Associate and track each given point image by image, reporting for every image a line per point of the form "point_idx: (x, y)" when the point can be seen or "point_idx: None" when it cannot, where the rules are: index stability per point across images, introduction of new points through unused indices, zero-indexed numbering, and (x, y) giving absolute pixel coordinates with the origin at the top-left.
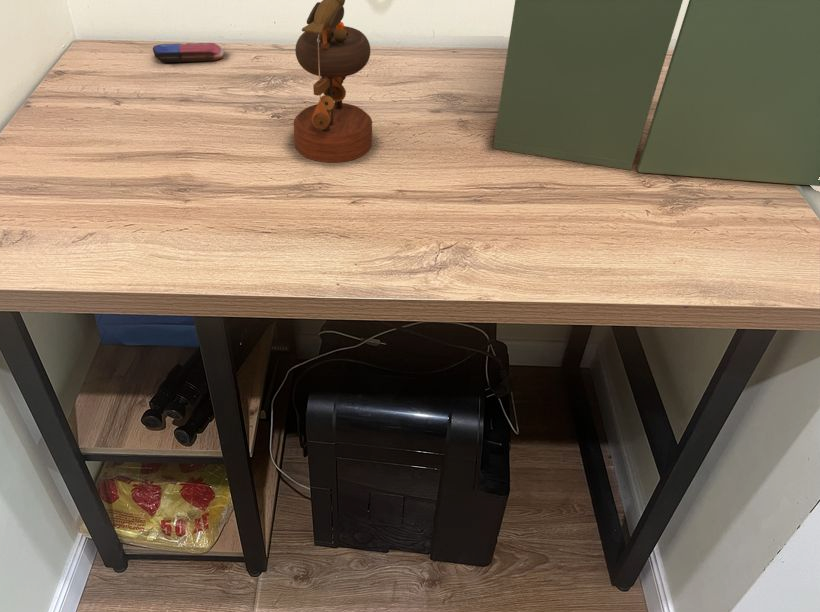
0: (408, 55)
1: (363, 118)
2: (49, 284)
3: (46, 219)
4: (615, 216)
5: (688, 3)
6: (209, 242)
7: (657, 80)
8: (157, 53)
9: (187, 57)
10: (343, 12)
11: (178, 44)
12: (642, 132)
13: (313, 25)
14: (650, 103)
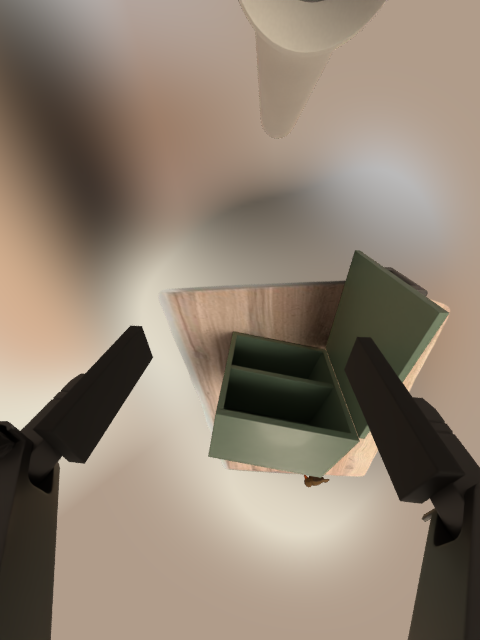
0: (216, 406)
1: None
2: (371, 461)
3: (340, 464)
4: None
5: (351, 417)
6: (358, 443)
7: (338, 384)
8: None
9: None
10: (313, 477)
11: None
12: (330, 363)
13: (323, 481)
14: (334, 374)
